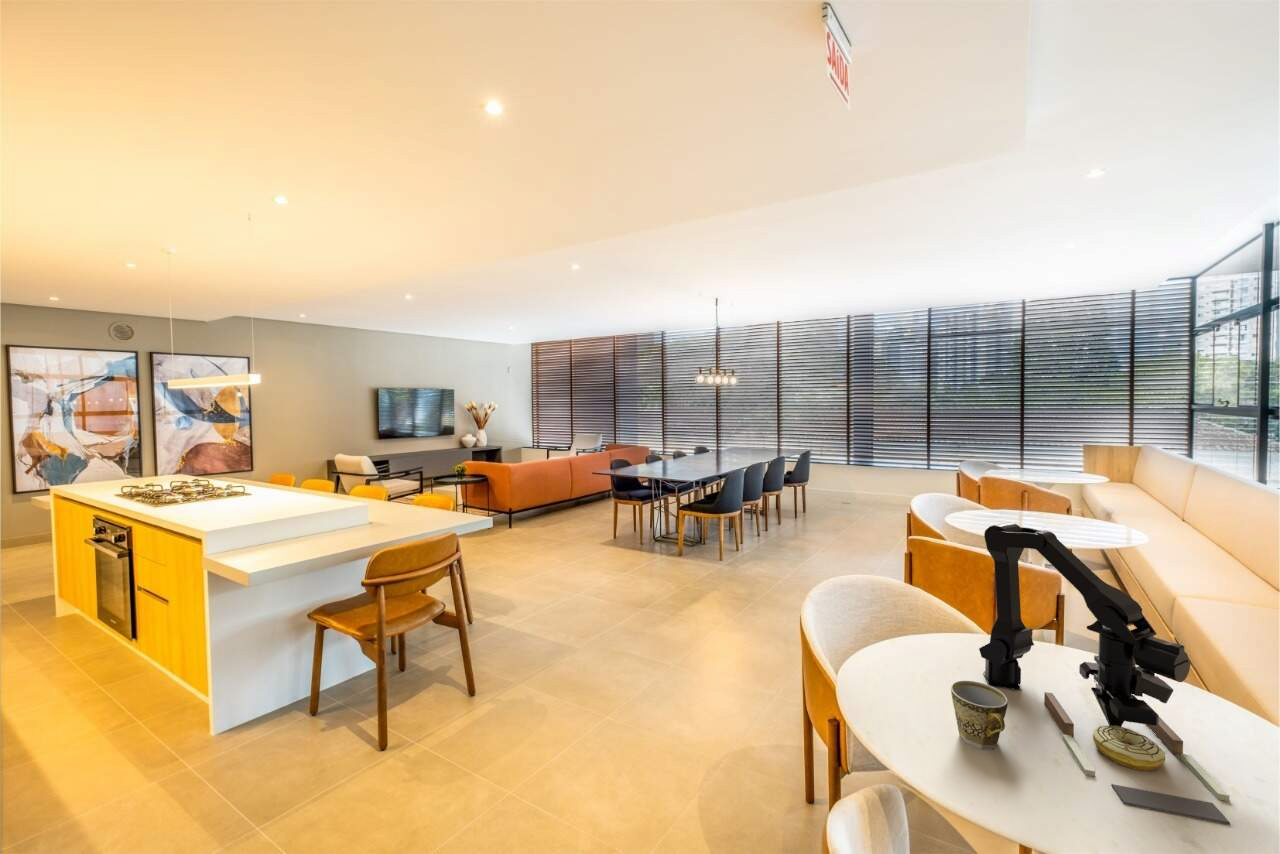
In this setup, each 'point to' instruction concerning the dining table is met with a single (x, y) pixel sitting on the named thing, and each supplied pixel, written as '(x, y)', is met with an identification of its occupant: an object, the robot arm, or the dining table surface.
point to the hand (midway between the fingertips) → (1114, 730)
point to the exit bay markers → (1187, 759)
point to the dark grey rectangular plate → (1170, 804)
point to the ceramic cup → (979, 713)
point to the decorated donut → (1128, 748)
